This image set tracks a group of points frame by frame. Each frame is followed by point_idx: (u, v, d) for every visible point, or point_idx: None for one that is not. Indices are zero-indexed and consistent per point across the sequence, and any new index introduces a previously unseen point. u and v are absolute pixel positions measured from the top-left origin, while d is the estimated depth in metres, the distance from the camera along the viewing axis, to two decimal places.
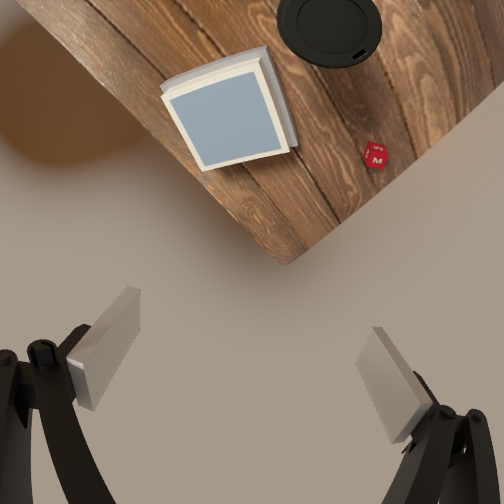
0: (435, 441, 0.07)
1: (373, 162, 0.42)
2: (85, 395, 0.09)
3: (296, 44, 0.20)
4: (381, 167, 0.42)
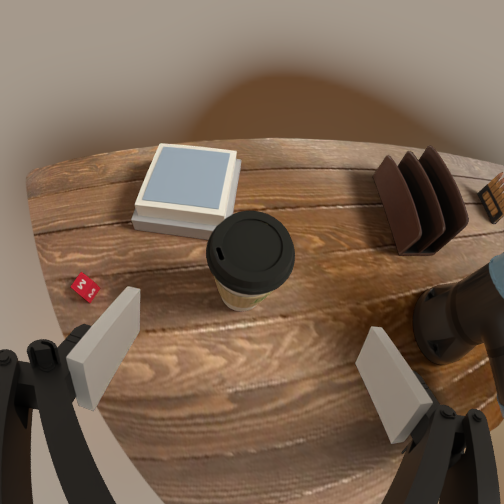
0: (435, 441, 0.07)
1: (81, 279, 0.38)
2: (85, 395, 0.09)
3: (244, 213, 0.32)
4: (73, 286, 0.37)
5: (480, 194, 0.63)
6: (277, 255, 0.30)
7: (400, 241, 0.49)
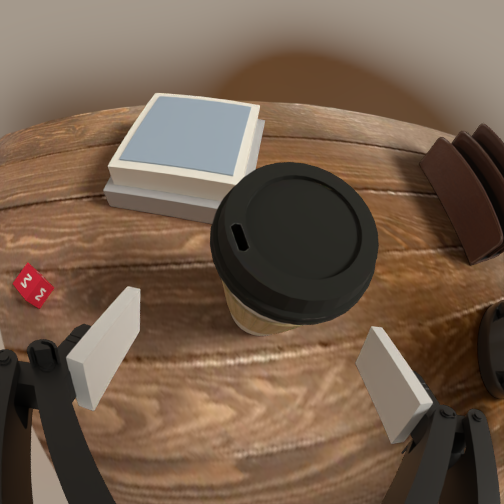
0: (435, 441, 0.07)
1: (27, 273, 0.23)
2: (85, 395, 0.09)
3: (287, 166, 0.16)
4: (15, 282, 0.22)
5: None
6: (352, 246, 0.15)
7: (473, 248, 0.33)
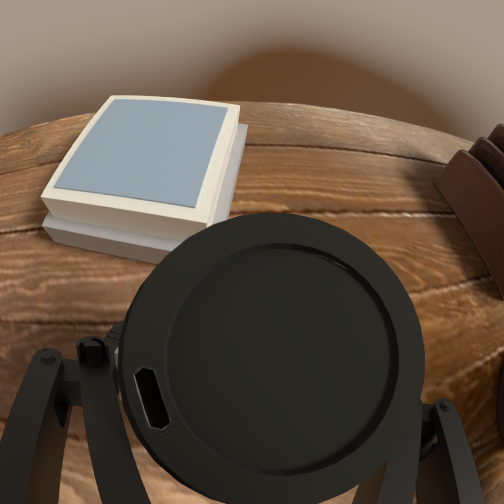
0: None
1: None
2: None
3: (260, 223, 0.08)
4: None
5: None
6: (379, 389, 0.07)
7: None
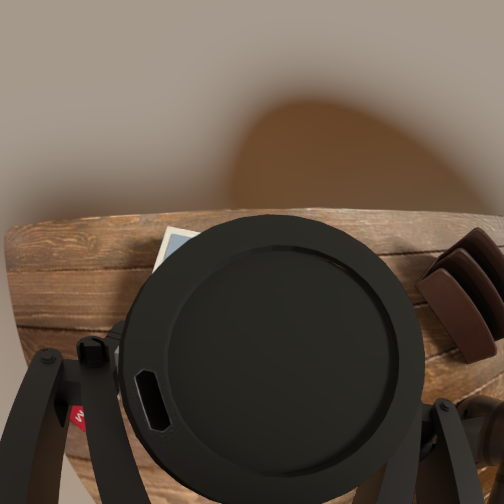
0: None
1: (79, 410, 0.27)
2: None
3: (260, 225, 0.08)
4: (70, 416, 0.26)
5: None
6: (379, 390, 0.07)
7: (470, 354, 0.38)
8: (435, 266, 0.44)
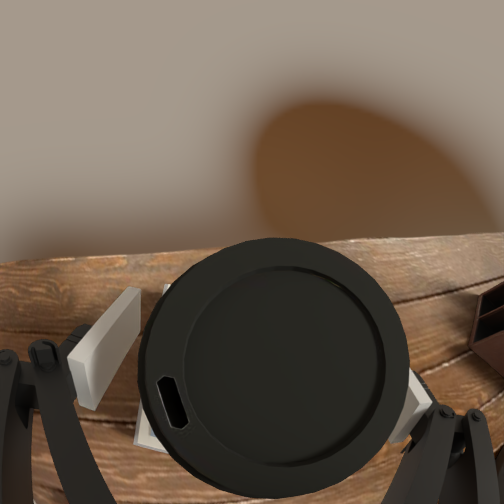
0: (434, 441, 0.07)
1: None
2: (86, 395, 0.09)
3: (264, 248, 0.10)
4: None
5: None
6: (368, 392, 0.08)
7: None
8: (486, 316, 0.31)
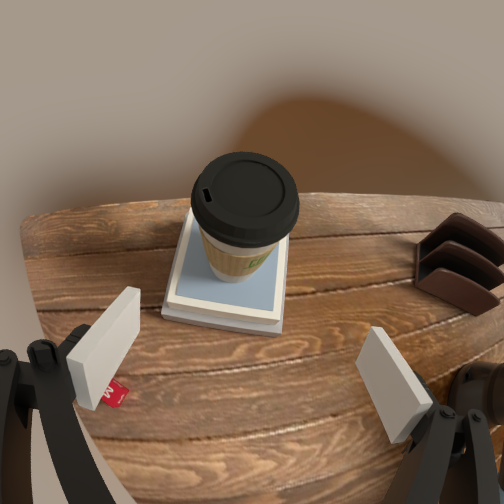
0: (435, 441, 0.07)
1: None
2: (85, 395, 0.09)
3: (239, 154, 0.26)
4: None
5: None
6: (278, 200, 0.24)
7: (477, 310, 0.45)
8: (424, 259, 0.47)
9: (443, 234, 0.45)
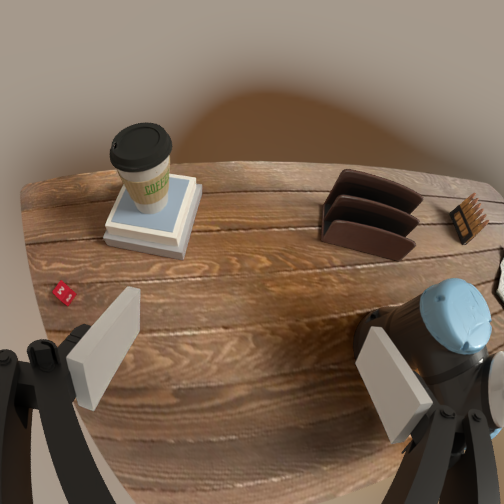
0: (435, 441, 0.07)
1: (61, 286, 0.44)
2: (85, 395, 0.09)
3: (140, 124, 0.39)
4: (54, 291, 0.43)
5: (452, 214, 0.69)
6: (153, 145, 0.38)
7: (396, 255, 0.58)
8: (327, 216, 0.59)
9: (341, 191, 0.58)
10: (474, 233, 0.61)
